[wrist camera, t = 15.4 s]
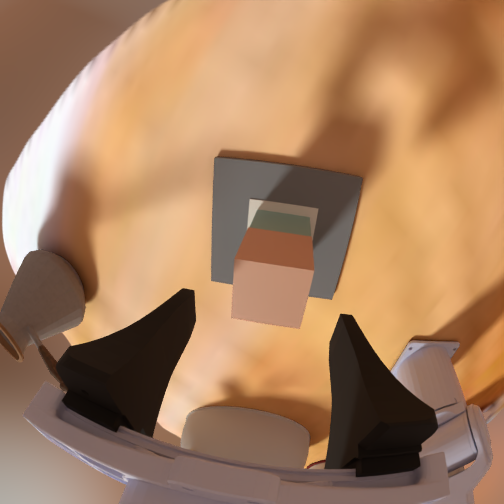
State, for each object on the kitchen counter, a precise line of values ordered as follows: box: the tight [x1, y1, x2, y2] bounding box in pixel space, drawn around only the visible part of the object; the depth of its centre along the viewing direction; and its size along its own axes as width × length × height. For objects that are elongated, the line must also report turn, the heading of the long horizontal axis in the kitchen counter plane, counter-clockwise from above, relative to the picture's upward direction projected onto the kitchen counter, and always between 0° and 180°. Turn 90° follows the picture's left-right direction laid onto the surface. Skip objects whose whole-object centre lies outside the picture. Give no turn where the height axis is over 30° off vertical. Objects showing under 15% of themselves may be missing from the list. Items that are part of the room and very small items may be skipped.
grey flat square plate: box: [211, 157, 363, 300], centre depth 22 cm, size 11×11×1 cm
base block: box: [250, 209, 311, 236], centre depth 20 cm, size 4×4×4 cm
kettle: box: [181, 406, 310, 468], centre depth 31 cm, size 25×23×22 cm
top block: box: [231, 227, 314, 329], centre depth 16 cm, size 4×4×4 cm
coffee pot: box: [0, 250, 86, 392], centre depth 23 cm, size 21×12×15 cm, turn 93°
